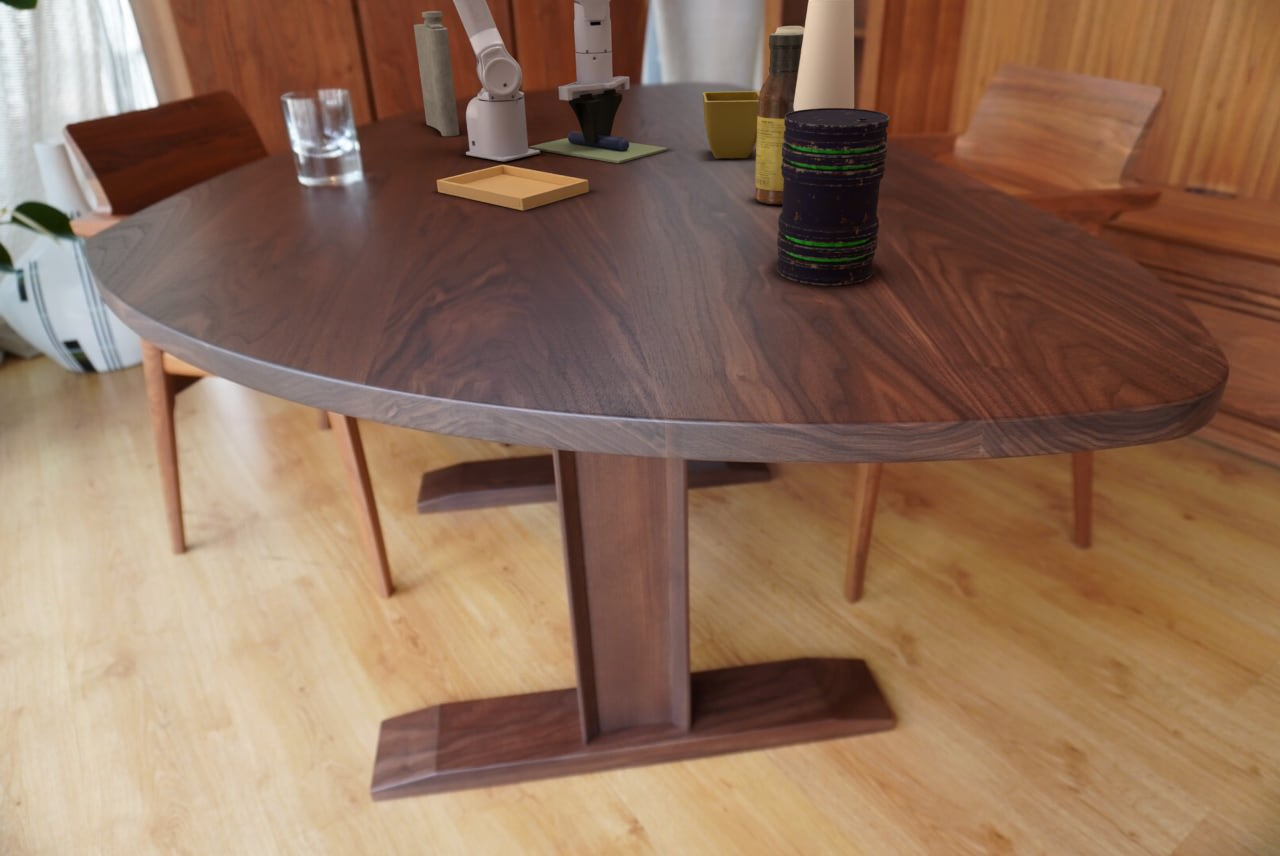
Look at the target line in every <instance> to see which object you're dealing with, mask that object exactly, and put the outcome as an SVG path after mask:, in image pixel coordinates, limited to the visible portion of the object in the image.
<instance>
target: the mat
mask: <svg viewBox="0 0 1280 856" xmlns="http://www.w3.org/2000/svg"><path fill="white" fill-rule="evenodd" d="M528 149H534V150H539V151H540V152H547V153H553V154H557V155H565V156H571V157H577V158H583V159H589V160H596V161H603V162H607V163H608V162H609V163H613V164H614V163H615V164H622V163H626V162H630V161H633V160H636V159H641V158H645V157H649V156H652V155H656V154H660V153H663V152H664V153H665V152H667V151H669V148H668V147H664V146H659V145H651V144H644V143H638V142H637V143H636V142H630V141H629V148H628V149H627V150H626V151H618V150H612V149H605V148H598V147H592V146H585V145H579V144H572V143H570V142H569V140H568V137H565V138H560V139H555V140H552V141H547V142H542V143H537V144H534V145H533V144H532V145H530V146H529V145H528Z"/></svg>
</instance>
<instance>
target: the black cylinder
mask: <svg viewBox="0 0 1280 856" xmlns="http://www.w3.org/2000/svg"><path fill="white" fill-rule="evenodd" d="M889 124H890V115H888V114H886V113H884V112H881V111H876V110H870V109H863V108H862V109H861V108H854V109H851V108H818V109H806V110H799V111H794V112H790V113H788V114H786V115H785V121H784V125H785V126H786V130H785V131H784V143H783V144H782V157H783V159H782V166H781V169H782V176H783V178H784V186H783V205H781V206H782V207H781V208H782V209H781V213H780V214H779V216H778V222H777V224H778V231H777V237H776V240H777V241H776V245H777V247H778V248H777V255H778V260H777V263H776V271H777V273H778V274H779V275H780V276H782V277H783V278H785V279H788V280H791V281H793V282H797V283H801V284H805V285H806V284H807V285H813V286H846V285H852V284H853V285H854V284H857V283H861V282H864V281H866V280H869V279H870V278H871V277H872V276H873V273H874V264H873V262H874V259H875V258H876V250H877V249H878V240H879V235H878V233H879V229H880V224H879V223H880V219H879V217H878V205H879V194H880V186H881V181H882V179H883V178H884V173H885V172H886V167H885V166H886V165H885V164H886V159H887V154H888V145H887V142H888V132H887V129H888V128H889Z"/></svg>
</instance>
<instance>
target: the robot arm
mask: <svg viewBox="0 0 1280 856" xmlns="http://www.w3.org/2000/svg"><path fill="white" fill-rule="evenodd" d="M452 2H453V3H454V6H455V8H456V12H457V13H458V15H459V18H460V20H461V23H462V26H463V27H464V30H465V32H466V36H467V37H468V40H469V43H470V45H471V47H472V50H473V53H474V55H475V58H476V75H477V77H478V80H479V82H480V83H481V85H482V88H481V90H480V91H479V92H477V96H475V97H473V98H472V99H471V100H470V101H469V102H468V104H467V107H466V111H465V120H466V129H467V138H468V148H469V150H468V151H466V152H465V155H466V156H469V157H470V156H471V157H475V158H481V159H487V160H492V161H498V162H503V163H504V162H509V161H513V160H518V159H522V158H526V157H527V158H528V157H531V156H535V155H540V154H541V151H540V150H534V149H529V141H528V128H527V127H528V126H527V115H526V103H525V93H524V92H523V91H520V88H521V86H522V83H523V72H522V68H521V66H520V65H519V63H518V62H517V60H516V59H514V57H513V56H512V55H511V54H510V53H509V52H508V50H507V48H506V46H505V45H506V44H505V43H504V41H503V38H502V35H501V34H500V32H499V30H498V27H497V25H496V23H495V20H494V18H493V15H492V12H491V11H490V8H489V5H488V3H487V0H452ZM610 2H611V0H574V2H573V10H574V18H573V19H574V20H573V28H574V29H573V32H574V50H575V53H574V54H575V68H576V69H575V70H576V72H575V74H576V81H574V82H571V83H568V84H564V85H561V86H558V87H557V88H558V100H560V101H567V102H568V104H569V106H570V108H571V109H572V111H573V112H574V114H575V116H576V119H577V121H578V124H579V126H580V129H581V132H582V133H583V137H584V140H585V143H591V144H595V143H597V138H598V135H605V136H612V130H613V125H614V122H615V118H616V114H617V112H618V109H619V107H620V105H621V103H622V101H623V93H621V92H617V91H621V90H622V91H628V90H630V89H631V88H630V76H623V75H618V76H613V75H614V74H613V46H612V44H613V43H612V42H613V41H612V20H611V14H610V13H611V7H610Z"/></svg>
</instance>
